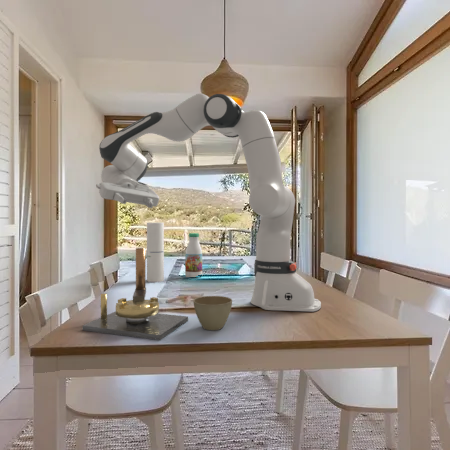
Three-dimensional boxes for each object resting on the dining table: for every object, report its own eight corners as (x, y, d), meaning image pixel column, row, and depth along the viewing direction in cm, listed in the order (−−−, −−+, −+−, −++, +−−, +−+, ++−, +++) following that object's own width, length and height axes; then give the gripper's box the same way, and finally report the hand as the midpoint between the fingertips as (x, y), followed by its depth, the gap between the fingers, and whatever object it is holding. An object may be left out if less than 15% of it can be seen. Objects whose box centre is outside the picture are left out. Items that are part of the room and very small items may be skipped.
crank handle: (158, 317, 91) (158, 255, 91) (112, 319, 89) (112, 256, 89) (159, 298, 111) (159, 247, 110) (122, 299, 109) (121, 248, 108)
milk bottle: (183, 275, 170) (183, 232, 169) (200, 275, 172) (200, 232, 172) (187, 278, 163) (187, 233, 162) (204, 278, 165) (204, 233, 164)
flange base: (188, 320, 100) (188, 293, 100) (160, 340, 85) (160, 307, 84) (119, 313, 107) (119, 287, 106) (82, 330, 91) (82, 300, 91)
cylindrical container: (160, 282, 154) (160, 222, 153) (144, 281, 155) (144, 222, 154) (166, 279, 161) (166, 222, 160) (150, 278, 162) (150, 222, 161)
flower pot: (231, 321, 100) (231, 295, 100) (233, 333, 90) (233, 304, 90) (194, 321, 99) (194, 295, 99) (192, 333, 89) (192, 304, 89)
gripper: (96, 174, 122) (109, 189, 112) (151, 185, 135) (167, 199, 125) (92, 192, 124) (104, 208, 114) (147, 201, 137) (162, 216, 126)
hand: (137, 203), depth 119 cm, fingers open, 8 cm apart
